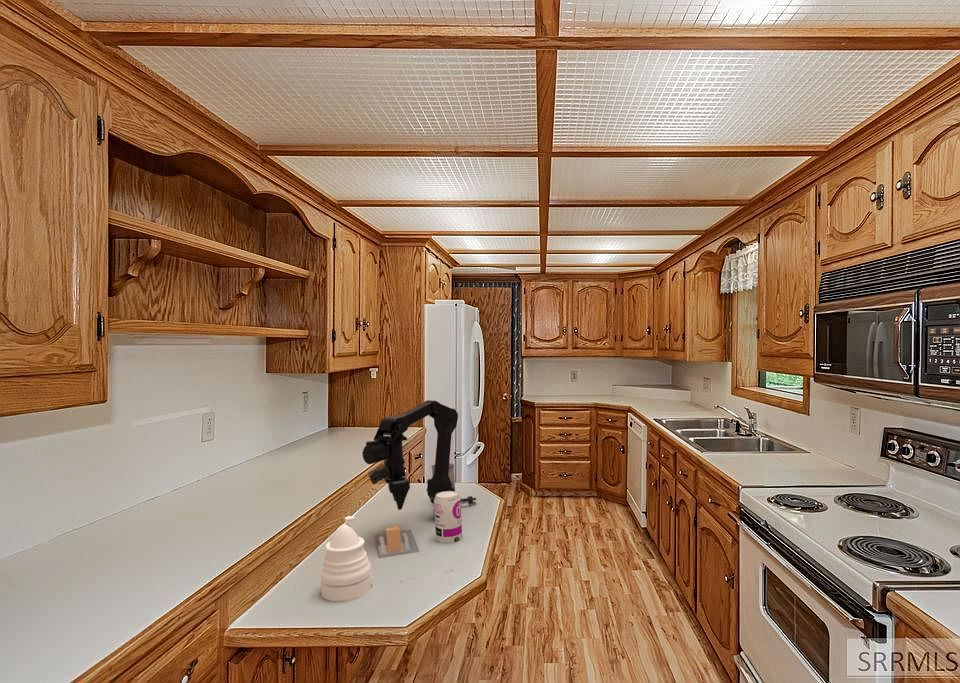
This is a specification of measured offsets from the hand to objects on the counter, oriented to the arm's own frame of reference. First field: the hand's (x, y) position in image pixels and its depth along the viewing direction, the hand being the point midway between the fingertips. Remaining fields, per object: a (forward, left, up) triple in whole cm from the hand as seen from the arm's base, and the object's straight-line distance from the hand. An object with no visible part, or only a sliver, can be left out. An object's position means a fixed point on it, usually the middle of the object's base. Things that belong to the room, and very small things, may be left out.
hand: (398, 505), depth 166 cm
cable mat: (+2, +4, -12) cm, 12 cm away
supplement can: (-15, +7, -12) cm, 20 cm away
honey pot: (+17, +28, -12) cm, 34 cm away
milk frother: (-25, -30, -12) cm, 41 cm away
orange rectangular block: (+3, +10, -10) cm, 14 cm away
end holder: (+3, +10, -10) cm, 14 cm away
